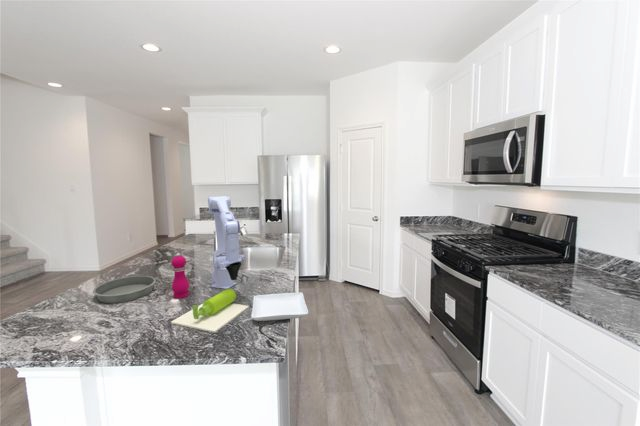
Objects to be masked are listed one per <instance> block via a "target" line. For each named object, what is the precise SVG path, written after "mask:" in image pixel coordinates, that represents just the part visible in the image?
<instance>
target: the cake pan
mask: <svg viewBox="0 0 640 426" xmlns="http://www.w3.org/2000/svg"><path fill="white" fill-rule="evenodd" d="M156 282H157V281H156V278H155V277H153V276H150V275H131V276H125V277H120V278H114V279H111V280H108V281H106V282H105V281H104V282H103V283H101V284H99V285H97V286H95V287H94V288H93V289H92V293H93V294H94V295H95V296H97V298H98V300H99V302H102V303H105V304H106V303H107V304H116V303H123V302H129V301H134V300H136V299H139V298H142V297H144V296H146V295H148V294H150V293H151V292H152V291H153V289H154V284H155V283H156Z"/></svg>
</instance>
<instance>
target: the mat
mask: <svg viewBox="0 0 640 426" xmlns="http://www.w3.org/2000/svg"><path fill="white" fill-rule="evenodd" d="M202 306H203V303H201V304H199V305H198V311H199V308H201V307H202ZM249 308H250V305H245V304H240V303H239V304H238V303H233V302H232V303H230V304H228V305H227V306H225V307H224V308H222V309H220V310H219V311H217V312H216V313H214V314H213V315H208V314H206V315H205V316H201V315H200V316H199V319H194V316H193V308H192V309H191V310H189V311H187V312H186V313H184V314H182V315H180V316H179V317H176V318H175V319H173V320H171V321H170V324H172V325H177V326H181V327H186V328H191V329H195V330H199V331H205V332H209V333H214V334H215V333H217V332H218V331H219V330H221V329H222V328H223V327H225V326H227V325H228V324H229V323H230V322H232V321H233V320H235V319H236V318H237V317H239V316H240V315H241V314H243V313H244V312H246V310H248V309H249Z"/></svg>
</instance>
